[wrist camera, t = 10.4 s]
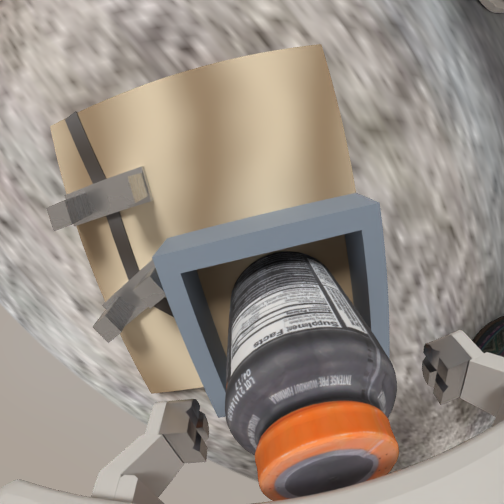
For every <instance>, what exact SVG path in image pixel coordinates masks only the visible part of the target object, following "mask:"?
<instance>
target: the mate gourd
mask: <svg viewBox="0 0 504 504" xmlns="http://www.w3.org/2000/svg"><path fill="white" fill-rule="evenodd" d="M473 342H474V343H475V344H476V346H477V347H478V348H479V349H480V350H481V351H482V352H483V353H486V352H488V353H492V354H495V355H498V356H502V357H504V316H503V317H500V318H498V319H496V320H494V321H492V322H490V323H488V324H487V325H486V326H484V327H483V328H482V329H481V330H480V332H479V333H478V334H477V335H476V337H475V338H474V340H473Z"/></svg>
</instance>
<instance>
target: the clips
mask: <svg viewBox="0 0 504 504" xmlns="http://www.w3.org/2000/svg"><path fill="white" fill-rule="evenodd" d="M65 198H66V200H64V201H62V202H59V203H57V204H55V205H52V206H50V207H48V208H47V211H48V215H49V218H50V221H51V224H52V227H53V230H54V231H56V230H58V229H61V228H64V227H66V226H69V225H72V224H74V226H77V225H80V224H83V223H86V222H89V221H92V220H95V219H97V218H100V217H103V216H106V215H109V214H112V213H115V212H119V211H122V210H125V209H128V208H131V207H134V206H137V205H141V204H144V203H147V202H150V201H153V197H152V193H151V190H150V186H149V183H148V179H147V176H146V172H145V168H144V166H142V167H139V168H136V169H133V170H130V171H127V172H124V173H121V174H119V175H116V176H113V177H110V178H108V179H105V180H102V181H100V182H97V183H94V184H92V185H89V186H87V187H84V188H82V189H79V190H77V191H74V192H72V193H69V194H67V195H65ZM165 296H166V295H165V292H164V290H163V287H162V284H161V281H160V279H159V276H158V273H157V270H156V268H155V265H154V262H153V259H152V260H151V261H149V262H148V263H147V264H146V265H145V266H144V267H143V268H142V269H140V270H139V272H137V273H136V274H135V275H134V276H133V277H132V278H131V279H130V280H128V281H127V282H126V283H125V284H124V285H123V286H122V287H121V288H120V289H118V290H117V291H116V292H115V293H114V294H113V295H112V296H111V297H110V298H109V299H108V300H107V301H106V302H105V303H104V304H103V305H102V306H103V307H104V308H105V309H106V310H105V311H104V312H103V314H102V315H101V316H100V318H99V319H98V320H97V322H96V323H95V324H94V326H93V328H94V329H95V330H96V331H97V332H98V333H99V334H100V335H101V336H102V337H103V338H104V339H105V340H106V341H107V342H108V343H109V342H110V341H111V340H113V339H114V338H115V337H116V336H117V335H119V334H120V333H121V332H122V330H123V329H124V327H125V326H126V325H127V324H128V323H129V322H131V321H132V320H133V319H134V318H135V317H137V316H138V315H139V314H140V313H142V312H143V311H144V310H145V309H146V308H148V307H149V308H150V309H151V308H152V307H153V306H154V305H155V304H157V303H158V302H159V301H160V300H162V299H163V298H164V297H165Z"/></svg>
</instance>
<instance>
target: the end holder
mask: <svg viewBox="0 0 504 504" xmlns="http://www.w3.org/2000/svg"><path fill="white" fill-rule="evenodd" d="M343 234H345V241H346V248H347V255H348V262H349V270H350V278H351V286H352V295H353V304H354V306H355V308H356V309H357V311H358V312H359V313H360V314H361V316H362V318H363V319H364V321H365V322H366V324H367V325H368V327H369V328H370V329H371V331H372V333H373V334H374V335H375V337H376V338H377V340H378V342H379V343H380V345H381V347H382V348H383V350H384V351H385V353H386V355H387V356H388V358H389V304H388V284H387V269H386V257H385V246H384V236H383V227H382V219H381V211H380V204H379V202H376V201H374V200H372V199H369V198H367V197H365V196H362V195H360V194H358V193H353V194H348V195H344V196H339V197H334V198H330V199H325V200H321V201H317V202H312V203H308V204H303V205H299V206H295V207H290V208H286V209H282V210H277V211H273V212H269V213H265V214H261V215H256V216H252V217H248V218H244V219H240V220H236V221H232V222H228V223H224V224H220V225H216V226H212V227H208V228H204V229H200V230H196V231H193V232H189V233H185V234H181V235H177V236H173V237H170V238H167V239H166V240H165V241H164V243H163V244H162V245H161V246H160V248H159V249H158V250H157V252H156V253H155V254H154V255H153V257H152V259H153V262H154V265H155V268H156V270H157V273H158V276H159V279H160V281H161V284H162V287H163V290H164V292H165V295H166V298H167V300H168V303H169V306H170V308H171V311H172V313H173V316H174V318H175V321H176V323H177V326H178V328H179V331H180V333H181V336H182V338H183V341H184V343H185V345H186V348H187V350H188V352H189V355H190V357H191V359H192V362H193V364H194V366H195V369H196V371H197V373H198V375H199V378H200V380H201V382H202V384H203V386H204V389H205V391H206V393H207V395H208V397H209V399H210V401H211V403H212V406H213V408H214V410H215V412H216V414H217V416H218V417H225V416H226V415H225V395H226V367H227V357H226V355H225V352H224V349H223V346H222V344H221V341H220V338H219V335H218V332H217V329H216V327H215V324H214V321H213V318H212V315H211V312H210V309H209V306H208V303H207V300H206V297H205V294H204V291H203V288H202V285H201V282H200V279H199V276H198V273H197V269H201V268H205V267H210V266H214V265H218V264H222V263H226V262H231V261H235V260H239V259H243V258H247V257H251V256H256V255H260V254H264V253H268V252H272V251H277V250H281V249H285V248H289V247H293V246H297V245H302V244H306V243H310V242H314V241H318V240H322V239H326V238H331V237H335V236H339V235H343Z"/></svg>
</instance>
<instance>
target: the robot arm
mask: <svg viewBox="0 0 504 504" xmlns="http://www.w3.org/2000/svg"><path fill="white" fill-rule="evenodd" d="M479 1H480V2H481V3H482V4H483V5H484V6H485V7H486V8H487V9H488V10H489V11H491V12H494V13H504V0H479ZM423 353H424V354H425V355H426V357H425V359H424V360H423V362H422V372H423V377H424V379H425V381H426V383H427V384H428V385H429V386H431V387H434V391H433V394H434V396H435V397H436V399H437V400H438V402H439V404H440V405H442V404H445V403H447V402H450V401H452V400H454V399H457V398H459V397H460V398H461V399H463V400H465V401H466V402H468V403H470V404H472V405H474V406H476V407H478V408H480V409H482V410H483V411H485V412H487V413H489V414H491V415H493V416H495V417H496V418H495V420H494V423H493V425H492V427H491V428H489V429H488V430H486V431H484V432H482V433H480V434H479V435H477V436H475V437H473V438H471V439H469V440H467V441H465V442H463V443H461V444H459V445H457V446H455V447H453V448H451V449H449V450H447V451H445V452H443V453H441V454H438V455H436V456H434V457H431V458H429V459H427V460H424V461H422V462H419V463H417V464H414V465H412V466H409V467H407V468H404V469H401V470H399V471H396V472H393V473H390V474H387V475H384V476H381V477H378V478H375V479H372V480H368V481H365V482H362V483H358V484H355V485H351V486H347V487H343V488H339V489H335V490H331V491H327V492H322V493H318V494H313V495H308V496H303V497H297V498H291V499H285V500H278V501H271V502H262V503H253V504H504V357H502V356H498V355H495V354H492V353H488V352H486V353H483V352H482V351H481V350H480V349H479V348H478V347H477V346H476V344H475V343H474V342H473V341H472V340H471V339H470V338H469V337H468V336H467V335H466V334H465V333H464V332H463V331H462V330H458V331H456V332H453V333H451V334H449V335H446V336H444V337H441V338H439V339H436V340H434V341H431V342H429V343H426V344H425V346H424V352H423ZM199 410H200V405H199V403H198V401H197V400H196V399H188V400H176V401H165V402H156V403H155V404H154V405H153V408H152V411H151V414H150V418H149V421H148V424H147V428H146V431H145V435H141V436H139V437H138V438H137V439H136V440H135V441H134V442H133V443H132V444H130V445H129V446H128V447H127V448H126V449H125V450H124V451H123V452H122V453H120V454H119V455H118V456H117V457H116V458H115V459H114V460H112V461H111V462H110V463H109V464H108V465H106V466H105V467H104V468H103V469H102V470H101V471H100V472H99V475H98V477H97V481H96V484H95V486H94V489H93V492H92V495H91V497H87V496H82V495H77V494H72V493H68V492H63V491H59V490H55V489H51V488H47V487H44V486H40V485H37V484H34V483H30V482H27V481H24V480H14V481H12V482H10V483H8V484H7V485H5V486H3V487H2V488H0V504H164V503H163V502H162V501H161V500H160V499H159V498H158V497H159V496H160V495H161V494H162V492H163V491H164V490H165V488H166V487H167V486H168V485H169V483H170V482H171V481H172V480H173V478H174V477H175V476H176V474H177V473H178V472H179V470H180V469H181V468H182V466H183V465H184V464H183V463H196V462H206V459H207V449H208V447H207V445H206V444H205V441H206V440H207V439H208V438H209V426H208V421H207V418H206V416H205V414H204V413H202V412H200V411H199Z"/></svg>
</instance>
